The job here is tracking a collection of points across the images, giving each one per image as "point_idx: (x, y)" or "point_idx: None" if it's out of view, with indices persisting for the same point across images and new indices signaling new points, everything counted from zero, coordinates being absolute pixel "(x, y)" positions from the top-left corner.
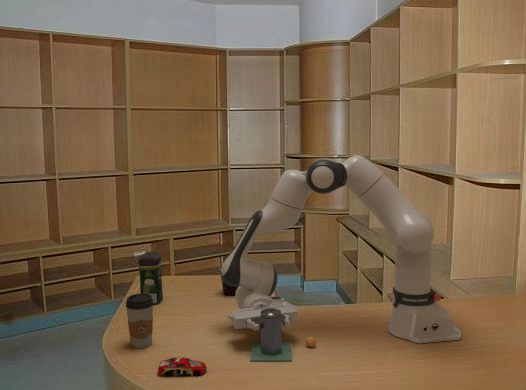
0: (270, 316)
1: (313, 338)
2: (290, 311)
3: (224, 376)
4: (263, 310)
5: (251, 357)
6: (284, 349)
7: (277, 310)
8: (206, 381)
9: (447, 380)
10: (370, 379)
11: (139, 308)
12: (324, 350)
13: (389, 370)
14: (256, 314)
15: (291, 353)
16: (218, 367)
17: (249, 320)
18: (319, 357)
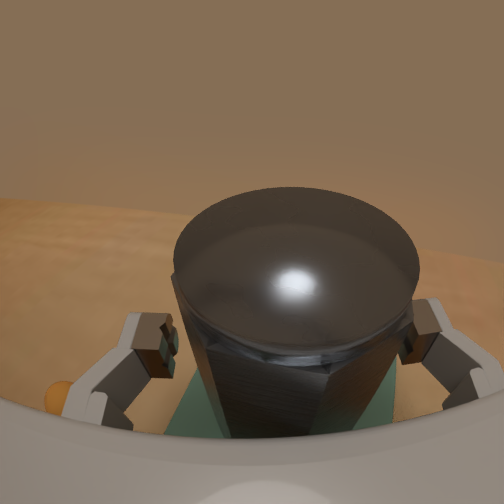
0: (319, 192)
1: (52, 385)
2: (19, 409)
3: (461, 286)
4: (388, 294)
5: (391, 376)
6: (209, 421)
7: (202, 257)
8: (493, 273)
9: (24, 208)
10: (100, 220)
11: None
12: (62, 364)
13: (45, 238)
14: (443, 441)
15: (195, 373)
16: (492, 334)
17: (485, 369)
18: (111, 327)
